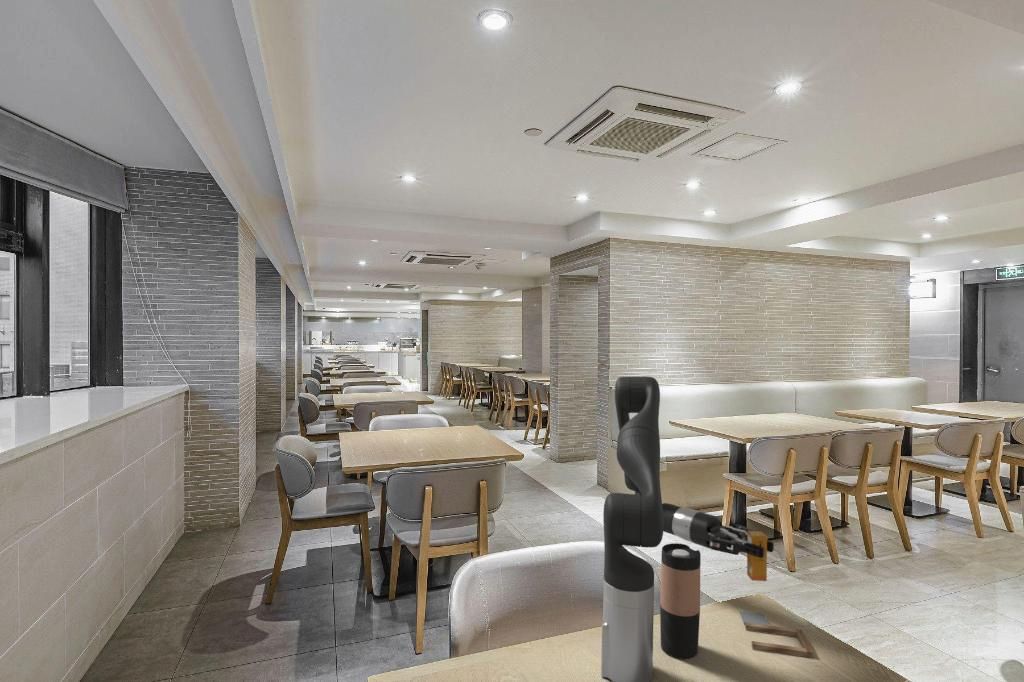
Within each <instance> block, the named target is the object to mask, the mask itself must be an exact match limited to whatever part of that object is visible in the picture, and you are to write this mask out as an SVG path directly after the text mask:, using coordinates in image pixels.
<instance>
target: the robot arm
mask: <svg viewBox="0 0 1024 682" xmlns="http://www.w3.org/2000/svg"><path fill="white" fill-rule="evenodd" d="M660 390H661V389H660V385H659V382H658V380H657V379H656V378H655V377H651V376H620V377H618V378H617V379H616V381H615V385H614V401H615V402H614V403H615V411H616V412H615V413H616V418H617V424H618V431H619V433H618V435H617V442H616V443H617V444H616V445H617V446H616V459H617V462H618V464H619V466H620V468H621V470H622V471H623V473H624V474H623V476H624V485H625V486H626V487H627V489H628V490H630V491H632V492H634V494H633V493H622V492H611V493H609V494H608V495H607V496H606V497H605V499H604V505H603V513H602V514H603V537H604V538H603V542H604V544H603V545H604V556H603V557H604V560H603V561H604V564H603V567H604V568H603V600H602V601H603V606H602V607H603V608H602V610H603V611H602V613H603V614H602V623H601V661H600V663H601V664H600V665H601V667H600V675H601V678H607V679H609V680H611V682H650V681H651V680H652V678H653V666H654V665H653V664H654V661H653V660H654V659H653V658H654V611H655V610H654V609H655V607H654V604H655V569H654V567H653V566H652V565H651V563H650V562H648V561H647V560H646V559H644V558H641V557H640V556H638V555H636V554H634V553H633V552H631V551H629V550H628V549H627V548H625V546H628V547H629V546H630V547H638V548H657V547H658V546H659V545H660V544H661V543H662V540H663V538H664V533H667V534H668V535H669V534H670V535H673V536H676V537H678V538H680V539H682V540H684V541H687V542H689V543H693V544H696V545H699V546H702V547H704V548H706V549H710V550H712V551H713V550H714V551H717V552H722V553H726V554H729V555H730V554H731V555H735V556H739V554H742V555H743V554H744V555H745V554H746V555H747V554H750V555H753V556H756V557H759V558H763V557H764V552H765V550H764V548H763V547H761V546H757V545H754V544H751V543H748V542H747V532H748V531H754V530H753V529H750V528H748V527H746V526H743V525H741V524H736V525H735V527H733V526H731V525H723V524H722V522H721V520H720V518H719V517H718V516H715V515H712V514H709V513H706V512H704V511H703V512H702V511H700V510H699V511H698V510H696V509H692V508H688V507H682V506H678V505H675V504H672V503H667V502H664V503H663V501H662V490H661V479H660V478H661V477H660V475H661V471H660V470H661V440H660V428H659V422H660V421H659V418H660V417H659V415H660V404H661V403H660V402H661V391H660ZM630 414H635V415H634V416H633V417H632V418H630V417H631V416H630ZM774 551H775V543H774V542H773V541H772V540H769V539H767V553H768V552H769V553H773V552H774Z"/></svg>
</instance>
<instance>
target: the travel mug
mask: <svg viewBox="0 0 1024 682" xmlns="http://www.w3.org/2000/svg"><path fill="white" fill-rule="evenodd" d="M660 559H661V560H660V561H661V567H660V592H659V593H660V594H659V595H660V596H659V598H660V599H659V603H660V605H659V610H660V611H659V614H660V615H659V618H660V621H659V622H660V624H659V625H660V629H659V630H660V648H661V650H662V651H663V652H664V653H665V655H667V656H669V657H671V658H674V659H678V660H692V659H693V658H695V657H696V656H697V655H698V652H699V651H698V650H699V649H698V648H699V634H700V620H701V619H700V618H701V616H700V615H701V614H700V613H701V561H702V560H701V559H702V558H701V551H700V550H699V549H697V550H694V549H692V548H691V547H690V546H689V545H687V544H685V543H675V542H674V543H667V544H664V545H663V546H662V548H661V558H660Z"/></svg>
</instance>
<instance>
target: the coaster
mask: <svg viewBox="0 0 1024 682" xmlns="http://www.w3.org/2000/svg"><path fill="white" fill-rule="evenodd" d="M739 614H740V617H741V619H742V623H743V625H744V626H745V622H746V623H753V624H761V625H768V626H770V625H769V623H768V621H767V617H766V616H765V613H762V612H753V611H752V612H751V611H746V610H745V611H744V610H740V611H739Z"/></svg>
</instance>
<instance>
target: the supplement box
mask: <svg viewBox="0 0 1024 682" xmlns="http://www.w3.org/2000/svg"><path fill="white" fill-rule="evenodd" d="M767 540H768V536H767V535H766V534H765V533H764V532H762V531H758V530H757V531H755V530H753V531H748V532H747V540H746V541H747V542H748V543H751V544H754V545H757V546H761V547H763V548H764V550H765V552H764V557H763V558H759V557H756V556H753V555H750V554H747V553H746V574H747V576H748V578H749V579H750V580H751V581H753V582H755V581H757V582H759V581H760V582H767V581H768V580H767V577H768V575H767V574H768V573H767V567H768V551H767Z"/></svg>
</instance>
